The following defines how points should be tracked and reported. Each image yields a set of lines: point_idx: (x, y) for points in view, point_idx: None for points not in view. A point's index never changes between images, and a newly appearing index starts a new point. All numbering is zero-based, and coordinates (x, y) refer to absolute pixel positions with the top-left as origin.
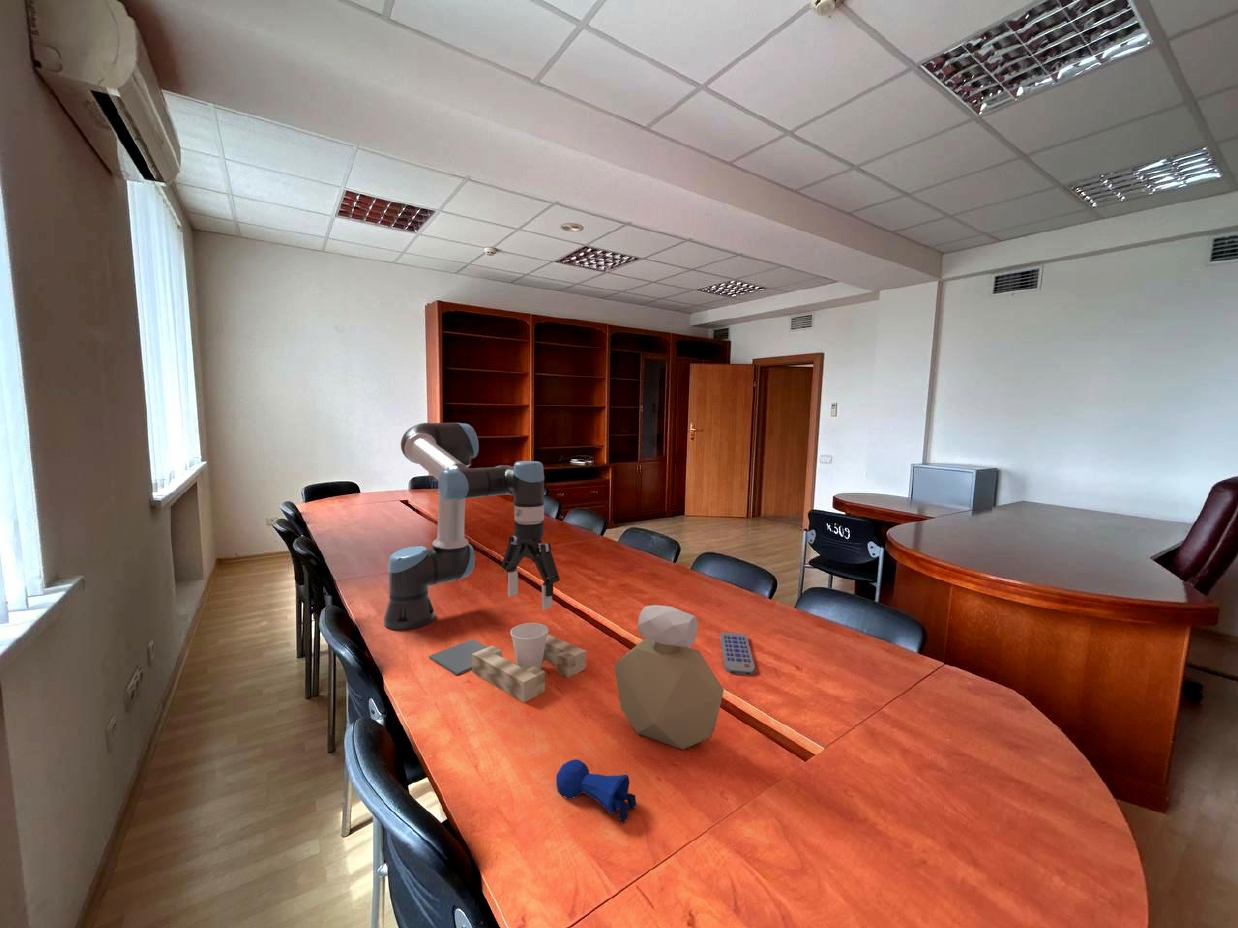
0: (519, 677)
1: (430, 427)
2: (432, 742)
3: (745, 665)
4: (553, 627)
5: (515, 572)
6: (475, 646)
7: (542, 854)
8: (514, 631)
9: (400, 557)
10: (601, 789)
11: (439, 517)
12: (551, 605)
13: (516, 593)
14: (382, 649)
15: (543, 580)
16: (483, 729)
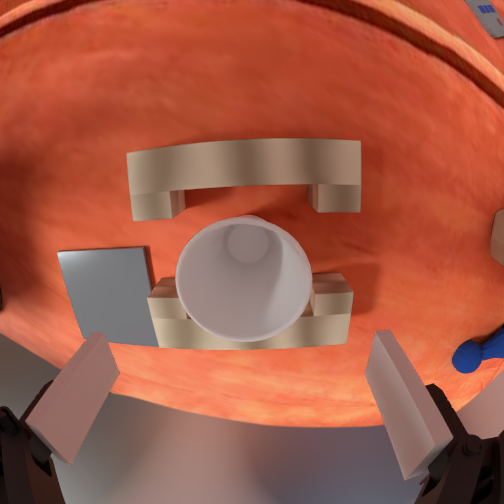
0: (324, 340)
1: None
2: (301, 420)
3: (500, 23)
4: (112, 65)
5: (50, 435)
6: (85, 267)
7: (460, 391)
8: (190, 300)
9: None
10: (496, 357)
11: None
12: (391, 336)
13: (104, 343)
14: (42, 353)
15: (421, 492)
16: (333, 383)
